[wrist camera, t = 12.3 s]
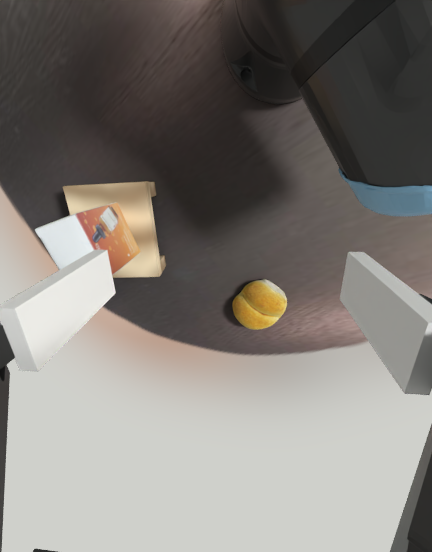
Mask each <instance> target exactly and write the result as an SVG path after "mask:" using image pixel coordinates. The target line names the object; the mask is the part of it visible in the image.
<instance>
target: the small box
mask: <svg viewBox="0 0 432 552" xmlns="http://www.w3.org/2000/svg"><path fill="white" fill-rule="evenodd" d="M35 231H36V233H37V235H38V236H39V238H40V239H41V240H42V242H43V244H44V245H45V247H46V249H47V250H48V252H49V254H50V255H51V257H52V259H53V260H54V262H55V264H56V265H57V267H58V269H59V270H61V269H62V268H64V267H66V266H68V265H69V264H71V263H73V262H74V261H76V260H78V259H80V258H81V257H83V256H85V255H86V254H88V253H90V252H92V251H93V250H107V251H108V256H109V261H110V267H111V272H112V276H113V275H114V274H115V273H116V272H117V271H119V270H120V269H121V268H122V267H124V266H125V265H126V264H127V263H129V262H130V261H131V260H132V259H134V258H135V257H136V256H137V255H138V254H140V253H141V251H140V249H139V247H138V245H137V243H136V242H135V239H134V237H133V235H132V233H131V231H130V229H129V226H128V224H127V222H126V220H125V218H124V215H123V213H122V211H121V209H120V207H119V204H118V203H117V202H115V203H111V204H107V205H104V206H100V207H96V208H93V209H90V210H86V211H82V212H79V213H75V214H72V215H70V216H67V217H64V218H62V219H59V220H57V221H54V222H51V223H49V224H46V225H44V226H41V227H39V228H36V229H35Z"/></svg>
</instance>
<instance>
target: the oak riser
mask: <svg viewBox="0 0 432 552" xmlns="http://www.w3.org/2000/svg"><path fill="white" fill-rule="evenodd" d="M63 189H64V193H65V197H66V201H67V205H68V209H69V212H70V215H72V214H75V213H79V212H82V211H86V210H90V209H93V208H96V207H100V206H104V205H107V204H111V203H115V202H117V203H118V204H119V207H120V209H121V211H122V213H123V215H124V218H125V220H126V222H127V224H128V226H129V229H130V231H131V233H132V235H133V237H134V239H135V242H136V243H137V245H138V247H139V249H140V251H141V253H140V254H138V255H137V256H136V257H135V258H134V259H132V260H131V261H130V262H129V263H127V264H126V265H125V266H124V267H122V268H121V269H120V270H119V271H117V272H116V273H115V274H114V275H113V276H112V277H113V278H119V277H160V275H161V274H162V271H163V270H164V268H165V267H166V264H165V256H164V255H159V250H158V243H157V236H156V229H155V222H154V215H153V208H152V201H151V197H153V196H156V190H155V183H154V182H149V181H143V182H126V183H108V184H90V185H73V186H63Z"/></svg>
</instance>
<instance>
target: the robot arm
mask: <svg viewBox="0 0 432 552" xmlns="http://www.w3.org/2000/svg"><path fill="white" fill-rule="evenodd" d="M221 38H222V45H223V51H224V56H225V59H226V62H227V65H228V68H229V70H230V72H231V74H232V76H233V77H234V79H235V80H236V82H237V83H238V84H239V86H240V87H241V88H242V89H243V90H244V91H245V92H247V93H248V94H249V95H251V96H252V97H254V98H256V99H258V100H260V101H263V102H267V103H272V104H284V103H290V102H294V101H297V100H299V99H302V98H303V100H304V102H305V104H306V106H307V108H308V109H309V111H310V113H311V115H312V117H313V119H314V121H315V123H316V124H317V126H318V128H319V130H320V132H321V134H322V136H323V138H324V140H325V141H326V143H327V145H328V147H329V149H330V151H331V153H332V155H333V157H334V158H335V160H336V162H337V164H338V166H339V173H340V175H341V177H342V178H343V179H344V180H345V181H346V182H347V183H349V185H350V187H351V188H352V190H353V192H354V193H355V195H356V197H357V198H358V200H359V201H360V203H361V204H362V205H363V206H364V207H366V208H369V209H371V210H372V211H374V212H376V213H379V214H383V215H389V216H418V215H427V214H432V0H224V1H223V7H222V14H221ZM114 294H115V287H114V282H113V277H112V272H111V267H110V261H109V256H108V251H107V250H93V251H92V252H90V253H88V254H86V255H85V256H83V257H81V258H80V259H78V260H76V261H74V262H73V263H71V264H69V265H68V266H66V267H64V268H62V269H61V270H59V271H57V272H56V273H54V274H52V275H50V276H49V277H47V278H45V279H44V280H42V281H40V282H38V283H37V284H35V285H33V286H31V287H30V288H28V289H27V290H25V291H23V292H21V293H19V294H18V295H16V296H14V297H13V298H11V299H9V300H7V301H6V302H4V303H2V304H1V305H0V552H1V548H2V526H3V506H4V483H5V463H6V442H7V420H8V399H9V378H10V372H9V370H8V367H7V364H8V363H9V362H10V361H11V360H12V359H14V358H15V360H16V363H17V365H18V368H19V370H22V371H39V370H40V369H41V368H42V367H43V366H44V365H45V364H46V363H47V362H48V361H49V360H50V359H51V358H52V357H53V356H54V355H55V354H56V353H57V352H58V351H59V350H60V349H61V348H62V347H63V346H64V345H65V344H66V343H67V341H69V340H70V339H71V337H73V336H74V335H75V334H76V332H78V331H79V330H80V329H81V328H82V327H83V326H84V325H85V324H86V323H87V322H88V320H89V319H90V318H91V317H92V316H93V315H94V314H95V313H96V312H97V311H98V310H99V309H100V308H101V307H102V306H103V305H104V304H105V303H106V302H107V301H108V300H109V299H110V298H111V297H112V296H113V295H114ZM340 300H341V302H342V303H343V305H344V306H345V307H346V309H347V310H348V312H349V313H350V315H351V316H352V318H353V319H354V321H355V322H356V324H357V325H358V326H359V328H360V329H361V331H362V332H363V334H364V335H365V337H366V338H367V340H368V341H369V343H370V344H371V345H372V347H373V348H374V350H375V351H376V353H377V354H378V356H379V357H380V359H381V360H382V362H383V363H384V364H385V366H386V367H387V369H388V370H389V372H390V373H391V374H392V376H393V378H394V379H395V380H396V382H397V383H398V385H399V386H400V388H401V389H402V391H403V392H404V393H405V394H421V395H429V394H430V392H431V389H432V299H431V298H428V297H426V296H424V295H422V294H418V293H416V292H415V291H414V290H412V289H411V288H410V287H409V286H407V285H406V284H405V283H403V282H402V281H401V280H399V279H398V278H397V277H396V276H394V275H393V274H392V273H390V272H389V271H388V270H386V269H385V268H384V267H382V266H381V265H380V264H379V263H377V262H376V261H375V260H373V259H372V258H371V257H369V256H368V255H367V254H366V253H364V252H348V256H347V261H346V267H345V272H344V278H343V283H342V289H341V295H340ZM33 552H55V551H48V550H41V549H34V550H33ZM390 552H432V425H431V428H430V431H429V434H428V437H427V441H426V443H425V446H424V449H423V452H422V455H421V458H420V461H419V465H418V468H417V471H416V474H415V477H414V480H413V483H412V486H411V489H410V492H409V495H408V498H407V501H406V504H405V507H404V510H403V513H402V516H401V519H400V523H399V526H398V529H397V532H396V535H395V538H394V541H393V544H392V547H391V550H390Z"/></svg>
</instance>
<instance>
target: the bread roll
mask: <svg viewBox="0 0 432 552" xmlns="http://www.w3.org/2000/svg"><path fill="white" fill-rule="evenodd" d="M286 306H287V299H286V297H285V294H284V292H283V291H282V290H281V289H280V288H279V287H277V286H276V285H275V284H273V283H271V282H270V281H268V280H265V279H264V280H257V281H253V282H251V283H249V284H247V285H246V286H245V287H244V289H243V290H242V291H241V293H240V294H239V295H237V296H236V297H235V299H234V300H233V312H234V315H235V317H236V318H237V320H238V321H239V322H240V323H241V324H242V325H243V326H245V327H247V328H250V329H263V328H267V327H269V326H271V325H273V324H274V323H275V322H276V321H277V320H278V319H279V318H280V317H281V315H282V314H283V313H284V312H285V309H286Z"/></svg>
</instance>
